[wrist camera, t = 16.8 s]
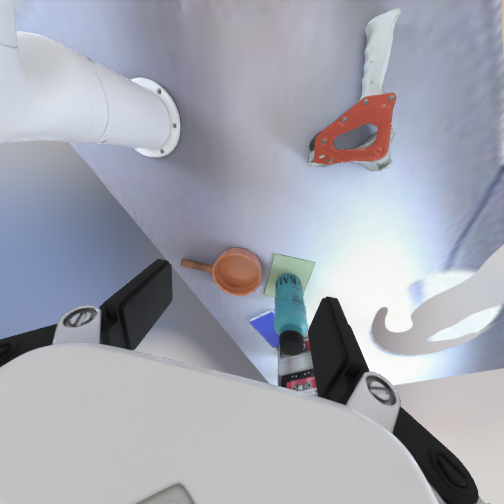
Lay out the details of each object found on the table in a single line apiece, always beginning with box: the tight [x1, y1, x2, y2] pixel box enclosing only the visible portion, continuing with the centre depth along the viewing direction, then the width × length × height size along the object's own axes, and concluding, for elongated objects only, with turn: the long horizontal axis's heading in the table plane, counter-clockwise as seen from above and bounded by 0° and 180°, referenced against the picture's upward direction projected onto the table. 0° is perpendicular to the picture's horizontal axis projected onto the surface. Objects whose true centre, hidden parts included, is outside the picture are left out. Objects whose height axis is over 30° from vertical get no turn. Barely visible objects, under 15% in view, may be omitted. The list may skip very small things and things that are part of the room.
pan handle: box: [181, 258, 213, 273], centre depth 47 cm, size 8×2×1 cm, turn 80°
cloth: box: [264, 254, 315, 297], centre depth 48 cm, size 10×13×1 cm
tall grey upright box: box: [277, 337, 319, 397], centre depth 47 cm, size 14×6×25 cm, turn 123°
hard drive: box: [249, 309, 280, 348], centre depth 56 cm, size 2×8×12 cm
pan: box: [212, 248, 263, 296], centre depth 47 cm, size 12×12×4 cm
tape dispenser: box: [309, 8, 401, 171], centre depth 30 cm, size 18×5×20 cm
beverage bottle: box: [274, 274, 308, 356], centre depth 39 cm, size 6×7×20 cm
